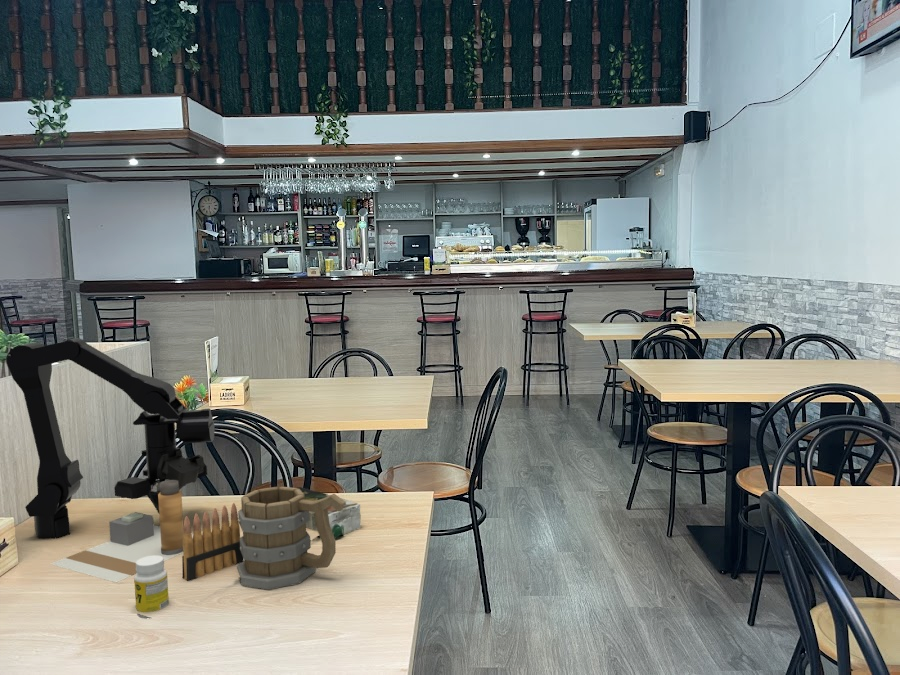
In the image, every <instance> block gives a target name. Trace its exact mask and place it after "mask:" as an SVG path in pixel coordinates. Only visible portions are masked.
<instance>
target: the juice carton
mask: <svg viewBox="0 0 900 675" xmlns="http://www.w3.org/2000/svg"><path fill="white" fill-rule="evenodd" d="M296 488H298V489H300V490H301V491H302V493H303V494H304V495H305V500H310V501H317V500H320V499H323V498H325V497H328V496H330V495H331V494H328V493H324V492H322V491H317V490H316V491H315V490H311V489H309V488H305V487H301V486H299V487H296ZM340 498H341V499H342V500H344V501H345V502H346V504H345V506H344V508H343V509H342V510H341V511H337V510H336V509H335V508H334V507H332V506H331V507H329V508H327V509H328V517H329V524H330V527H331V530H332V532H333V535H334V538H335V539H337V538H338V537H340V536H346V535H347V534H349V533H351V532H354V531H356V529H357V530H359V529H361V528H362V525H361V520H362V518H361V517H362V515H361V503H357V502H355V501H352V500H348V499H345V498H342V497H340ZM309 520H310V521H309V522H307V523H306V529H308V530H312V531H316V532H318V530H317V527H316V520H315V512H312V511H309ZM346 533H347V534H346ZM316 538H318V539H321V538H320V535H319V534H318V535H317V536H316Z"/></svg>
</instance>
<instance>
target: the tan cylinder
mask: <svg viewBox="0 0 900 675" xmlns="http://www.w3.org/2000/svg"><path fill="white" fill-rule="evenodd" d="M158 500H159V513H158V515H159V526H160V533H161V553H162V554H164V555H174V554H178V553H181V552H183V533H184V531H183V527H184V515H183V514H184V513H183V497H182V490H181V489H180V490H179V483H178V480H167V481H163V482H161V483H160V493H159V494H158Z"/></svg>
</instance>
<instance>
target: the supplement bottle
mask: <svg viewBox="0 0 900 675" xmlns="http://www.w3.org/2000/svg"><path fill="white" fill-rule="evenodd" d="M164 567H165V561H164V559H163V557H162V556H157V555H153V556H146V557H143V558H140V559H139V560H137V561H136V572H137V573H136V574H135V575H134V577H133V579H134V594H135V595H134V596H135V608H136V610H137V611H138V612H141V613H150V612H156V611H159V610H162V609H163V608H165V607H166V606H168V605H169V603H170V599H169V583H168V581H169V580H168V571H167V570H166V568H164ZM136 615H137V616H138V617H139V618H141V619H146V620H147V618H149V619H152V617H150V616H147V615H144V614H140V613H136Z"/></svg>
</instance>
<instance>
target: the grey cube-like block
mask: <svg viewBox="0 0 900 675" xmlns="http://www.w3.org/2000/svg"><path fill="white" fill-rule="evenodd" d="M108 522H109V526H108V527H109V538H110V540H109V541H111V542H114V543H118V544H123V545H127V546H129V545H131V544H134V543H136V542H139V541H141V540H144V539H146V538H149V537H151V536H154V515H152V514H148V513H147V514H146V513H142V512H137V511H135V512H132V513H130V514H127V515H123V516H121V517H117V518H116V519H113V520H110V521H108Z"/></svg>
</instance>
